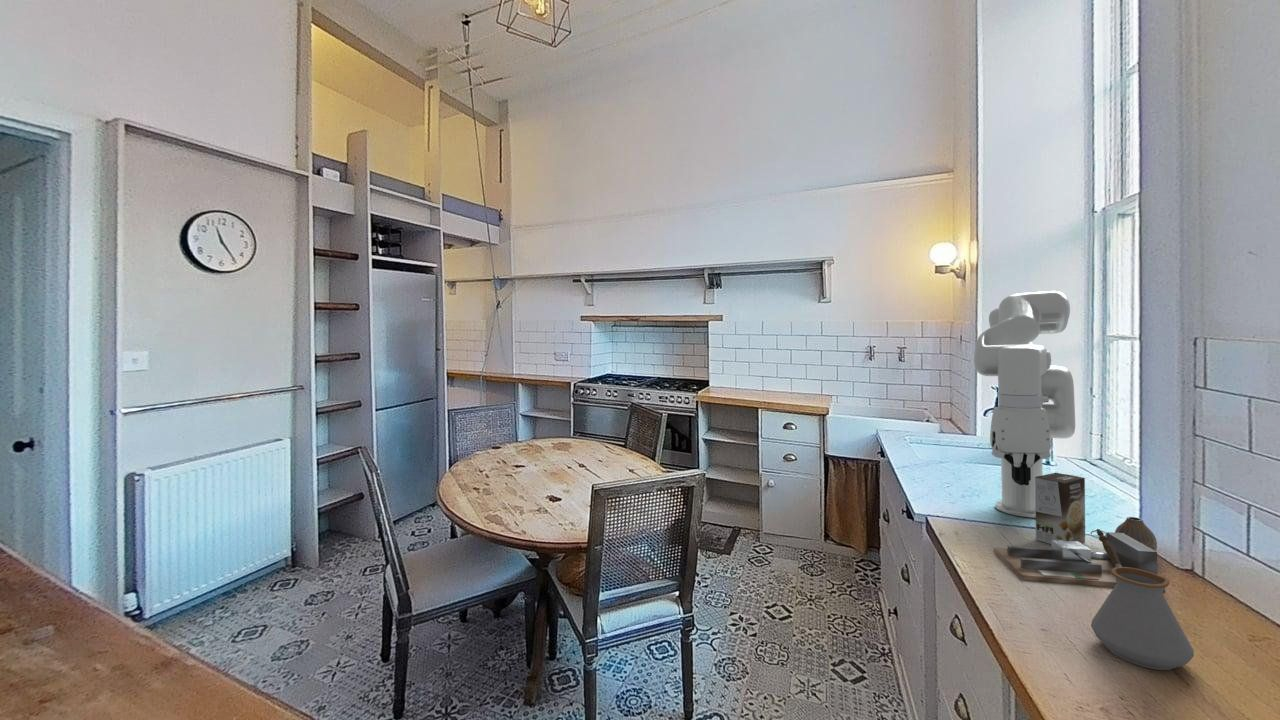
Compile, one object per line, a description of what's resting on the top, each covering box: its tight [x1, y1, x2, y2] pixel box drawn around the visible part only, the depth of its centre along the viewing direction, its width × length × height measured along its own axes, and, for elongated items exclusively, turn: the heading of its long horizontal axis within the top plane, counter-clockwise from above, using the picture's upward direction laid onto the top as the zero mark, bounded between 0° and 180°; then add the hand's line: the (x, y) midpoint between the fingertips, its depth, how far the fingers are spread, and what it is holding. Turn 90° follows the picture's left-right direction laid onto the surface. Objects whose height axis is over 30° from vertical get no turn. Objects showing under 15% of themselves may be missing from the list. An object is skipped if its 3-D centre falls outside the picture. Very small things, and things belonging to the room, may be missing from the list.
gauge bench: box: [993, 531, 1166, 592], centre depth 105 cm, size 24×14×7 cm, turn 74°
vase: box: [1114, 516, 1158, 552], centre depth 110 cm, size 7×7×9 cm
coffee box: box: [1035, 472, 1086, 545], centre depth 120 cm, size 9×6×16 cm
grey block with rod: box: [1051, 540, 1118, 563], centre depth 103 cm, size 11×9×4 cm
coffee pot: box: [1090, 528, 1195, 671], centre depth 82 cm, size 21×12×15 cm, turn 154°
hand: (1021, 483), depth 108 cm, fingers closed
